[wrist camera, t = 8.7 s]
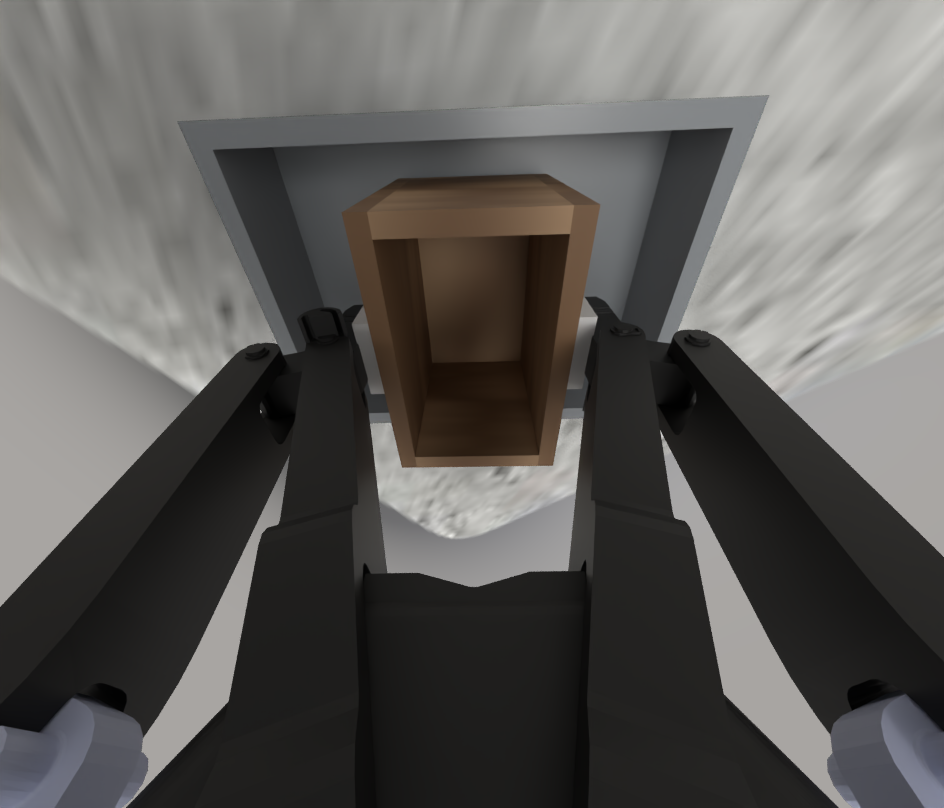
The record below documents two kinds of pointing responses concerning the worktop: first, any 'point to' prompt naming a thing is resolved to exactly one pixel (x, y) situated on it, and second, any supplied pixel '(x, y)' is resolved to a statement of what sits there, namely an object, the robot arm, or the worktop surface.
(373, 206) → the walnut crate
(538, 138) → the grey crate
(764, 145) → the worktop surface
